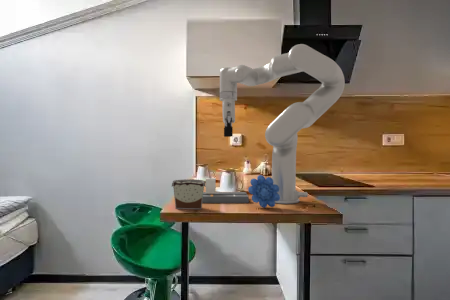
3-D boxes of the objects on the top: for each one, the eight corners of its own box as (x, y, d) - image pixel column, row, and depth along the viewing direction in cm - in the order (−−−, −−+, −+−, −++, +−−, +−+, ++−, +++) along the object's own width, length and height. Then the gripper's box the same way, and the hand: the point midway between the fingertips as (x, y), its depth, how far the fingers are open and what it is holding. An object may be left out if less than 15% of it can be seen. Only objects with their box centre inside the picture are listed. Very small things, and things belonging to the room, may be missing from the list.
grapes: (248, 209, 126) (248, 176, 126) (248, 206, 133) (248, 174, 132) (281, 210, 125) (281, 176, 125) (279, 206, 132) (279, 174, 132)
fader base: (245, 197, 152) (245, 191, 152) (248, 202, 140) (248, 196, 140) (201, 197, 151) (201, 191, 151) (200, 202, 139) (200, 196, 139)
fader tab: (215, 195, 147) (215, 177, 146) (215, 196, 144) (215, 178, 143) (205, 195, 146) (205, 177, 146) (205, 196, 143) (205, 178, 143)
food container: (207, 206, 132) (208, 179, 132) (205, 209, 126) (205, 181, 126) (175, 205, 133) (175, 179, 133) (171, 208, 127) (171, 180, 127)
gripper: (238, 94, 145) (238, 136, 145) (235, 99, 162) (235, 136, 162) (220, 94, 144) (219, 136, 145) (219, 99, 162) (219, 136, 162)
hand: (228, 136), depth 154 cm, fingers open, 9 cm apart
